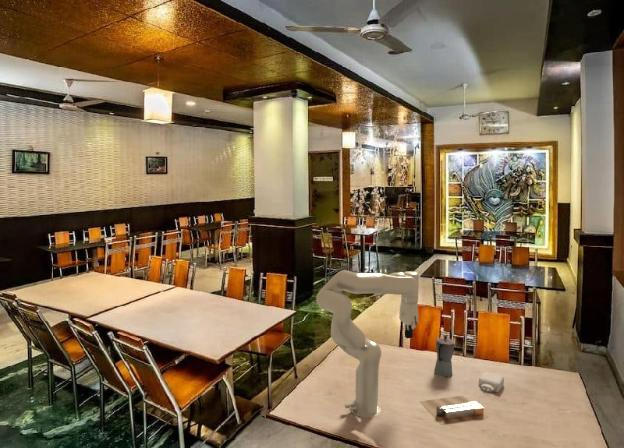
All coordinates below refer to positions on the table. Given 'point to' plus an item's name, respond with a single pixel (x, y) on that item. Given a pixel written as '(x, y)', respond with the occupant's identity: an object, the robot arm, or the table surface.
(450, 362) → the moka pot
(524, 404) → the table surface
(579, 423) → the table surface
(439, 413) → the tong leg
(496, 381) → the charger
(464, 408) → the bar
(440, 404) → the board
